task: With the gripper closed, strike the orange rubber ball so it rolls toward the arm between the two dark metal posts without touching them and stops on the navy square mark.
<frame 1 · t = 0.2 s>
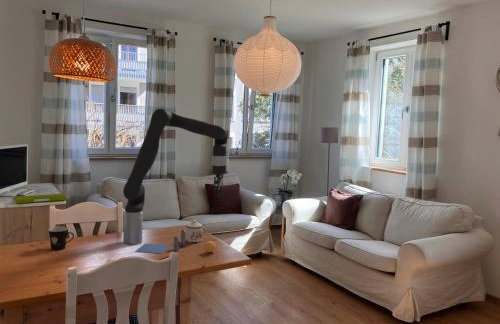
hand: (218, 195, 210), 29 cm above the table, tool pointing down, fingers open, 8 cm apart
ball: (210, 247, 205), on the table
post 1: (175, 254, 200), on the table
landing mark: (153, 248, 208), on the table
post 2: (182, 246, 213), on the table
teacup with lid: (196, 240, 226), on the table
coffee mug: (60, 249, 201), on the table
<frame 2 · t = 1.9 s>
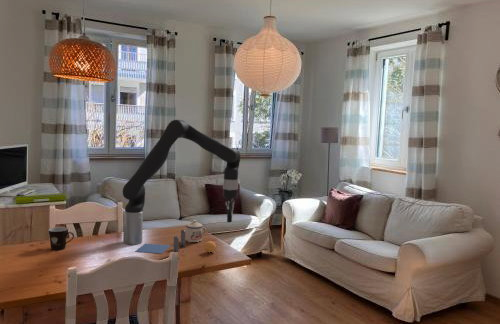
hand: (229, 221, 202), 17 cm above the table, tool pointing down, fingers closed
nothing on the table moved.
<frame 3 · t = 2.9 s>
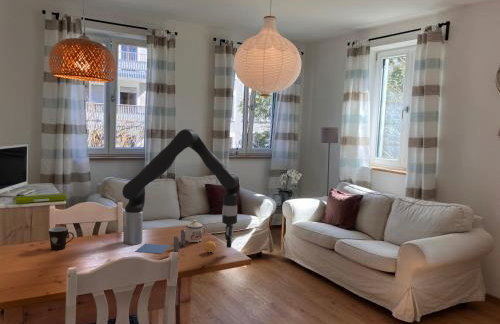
hand: (228, 247, 203), 4 cm above the table, tool pointing down, fingers closed
nothing on the table moved.
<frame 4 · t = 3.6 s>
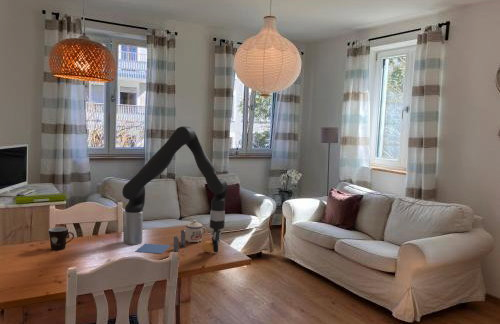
hand: (215, 251, 205), 1 cm above the table, tool pointing down, fingers closed
ball: (208, 246, 205), on the table, touching gripper
everything else where it was.
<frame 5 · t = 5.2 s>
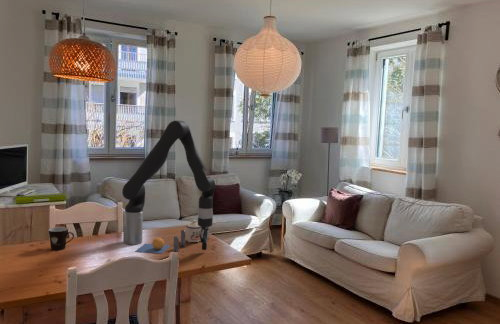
hand: (204, 249, 205), 2 cm above the table, tool pointing down, fingers closed
ball: (158, 243, 207), on the table
everything else where it was.
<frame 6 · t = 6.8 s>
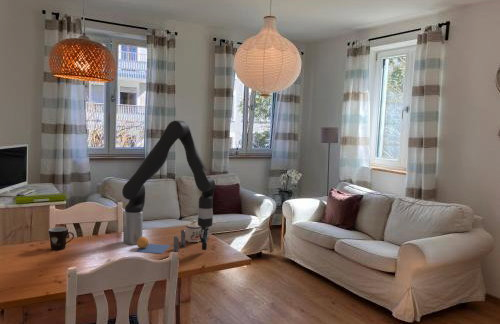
hand: (204, 249, 205), 2 cm above the table, tool pointing down, fingers closed
ball: (142, 242, 208), on the table
everything else where it was.
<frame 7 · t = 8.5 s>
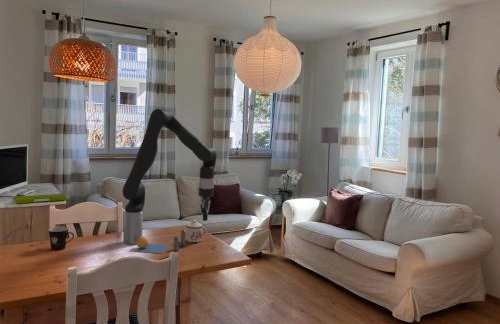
hand: (205, 220, 204), 17 cm above the table, tool pointing down, fingers closed
nothing on the table moved.
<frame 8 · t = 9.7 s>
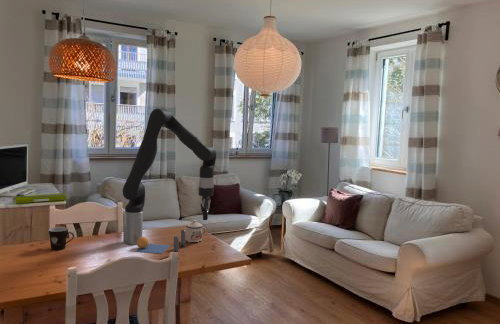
hand: (205, 219, 204), 17 cm above the table, tool pointing down, fingers closed
nothing on the table moved.
at the end: ball 5.5 cm from the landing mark (horizontally); ball never touched post 2; ball never touched post 1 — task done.
